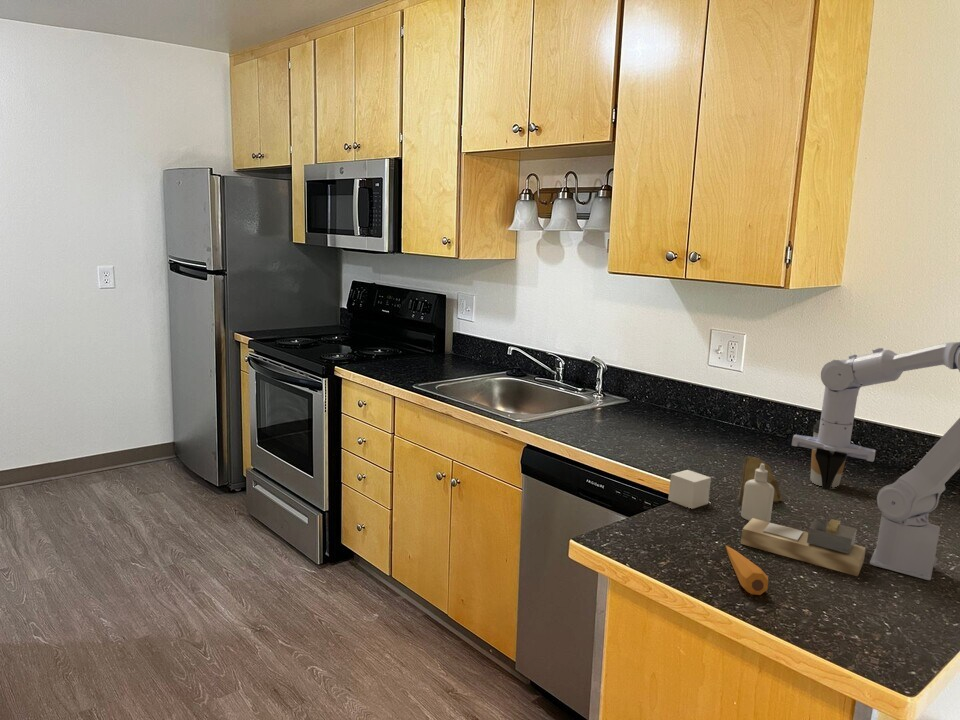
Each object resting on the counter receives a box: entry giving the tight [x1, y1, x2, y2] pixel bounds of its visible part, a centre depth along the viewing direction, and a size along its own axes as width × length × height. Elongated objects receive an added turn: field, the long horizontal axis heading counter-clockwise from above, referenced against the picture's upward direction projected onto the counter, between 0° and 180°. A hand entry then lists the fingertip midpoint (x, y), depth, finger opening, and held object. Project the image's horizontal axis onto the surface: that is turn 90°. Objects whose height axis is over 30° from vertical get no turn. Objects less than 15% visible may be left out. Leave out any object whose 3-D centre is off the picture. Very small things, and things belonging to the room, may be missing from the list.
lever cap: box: [807, 518, 858, 554], centre depth 133 cm, size 7×6×4 cm
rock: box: [738, 456, 783, 506], centre depth 162 cm, size 11×9×10 cm
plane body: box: [740, 518, 867, 577], centre depth 136 cm, size 20×7×3 cm, turn 56°
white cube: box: [667, 469, 712, 510], centre depth 159 cm, size 6×6×6 cm
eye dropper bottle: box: [740, 464, 774, 523], centre depth 150 cm, size 4×6×12 cm
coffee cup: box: [809, 419, 846, 488], centre depth 176 cm, size 8×8×15 cm
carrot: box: [725, 545, 769, 596], centre depth 128 cm, size 20×4×4 cm, turn 176°
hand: (826, 488), depth 145 cm, fingers closed
